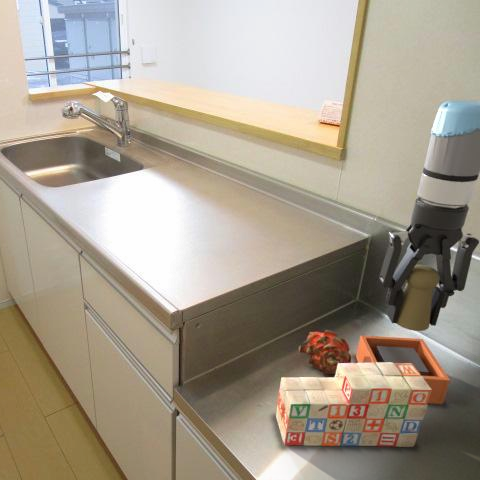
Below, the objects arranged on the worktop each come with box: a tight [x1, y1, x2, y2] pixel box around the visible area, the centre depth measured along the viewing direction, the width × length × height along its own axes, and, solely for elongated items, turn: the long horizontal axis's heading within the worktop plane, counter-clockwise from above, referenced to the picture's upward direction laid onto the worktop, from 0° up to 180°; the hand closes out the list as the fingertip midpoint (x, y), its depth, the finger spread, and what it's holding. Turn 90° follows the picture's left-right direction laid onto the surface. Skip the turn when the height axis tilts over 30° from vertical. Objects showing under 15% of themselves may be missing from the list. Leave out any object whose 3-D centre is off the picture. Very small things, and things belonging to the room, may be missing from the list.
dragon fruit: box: [298, 329, 352, 375], centre depth 90 cm, size 8×8×12 cm
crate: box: [355, 335, 451, 405], centre depth 87 cm, size 12×12×6 cm
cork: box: [395, 264, 440, 332], centre depth 80 cm, size 6×6×11 cm
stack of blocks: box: [275, 362, 432, 448], centre depth 74 cm, size 21×6×12 cm, turn 89°
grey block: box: [375, 346, 429, 376], centre depth 87 cm, size 7×7×4 cm
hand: (410, 319), depth 82 cm, fingers closed on cork, 6 cm apart
